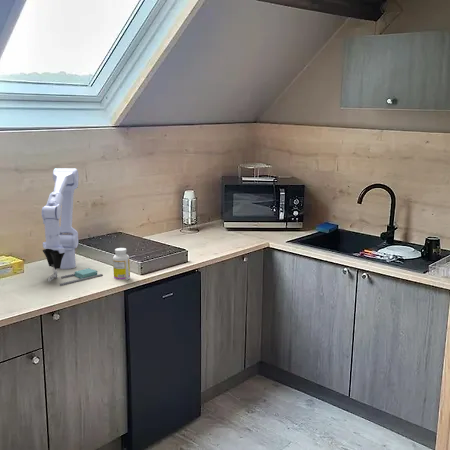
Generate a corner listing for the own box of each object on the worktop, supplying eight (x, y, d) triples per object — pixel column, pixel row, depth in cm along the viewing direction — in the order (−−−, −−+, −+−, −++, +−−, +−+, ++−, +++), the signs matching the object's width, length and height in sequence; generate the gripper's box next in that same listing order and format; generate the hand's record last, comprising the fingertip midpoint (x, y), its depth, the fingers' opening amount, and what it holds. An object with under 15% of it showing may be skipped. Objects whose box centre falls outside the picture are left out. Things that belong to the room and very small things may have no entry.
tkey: (56, 276, 238) (55, 260, 237) (59, 276, 238) (58, 260, 237) (47, 283, 228) (46, 267, 227) (51, 284, 228) (50, 267, 227)
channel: (49, 282, 233) (49, 279, 233) (90, 273, 246) (90, 269, 245) (61, 288, 226) (60, 284, 226) (102, 277, 239) (102, 274, 239)
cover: (75, 279, 239) (74, 271, 238) (89, 275, 244) (88, 268, 243) (83, 282, 235) (82, 274, 234) (97, 278, 240) (97, 270, 239)
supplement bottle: (122, 275, 242) (121, 246, 240) (133, 278, 238) (132, 248, 236) (110, 279, 237) (109, 249, 235) (121, 282, 233) (119, 252, 230)
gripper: (34, 233, 234) (37, 265, 237) (52, 239, 224) (54, 272, 227) (50, 230, 239) (52, 262, 242) (68, 236, 229) (70, 269, 232)
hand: (54, 267), depth 234 cm, fingers closed on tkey, 4 cm apart
